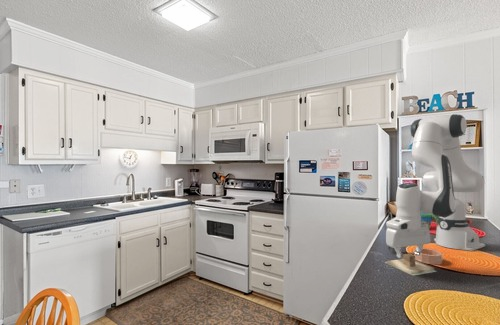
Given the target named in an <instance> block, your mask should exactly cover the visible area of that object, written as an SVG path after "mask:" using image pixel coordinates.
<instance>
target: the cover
mask: <svg viewBox="0 0 500 325" xmlns="http://www.w3.org/2000/svg"><path fill="white" fill-rule="evenodd" d="M385 262H386V263H385V264H387V265H390V266H391V267H393V266H394V268H395V267H396V269H398V270H400V271H402V272H404V273H406V272H407V273H406V274H409V275H411V274H417V273H422V272H428V271H434V270H435V267H432V266H430V265H426V264H425V263H422V262H419V261H417V260H416V259H415V256H414V254H412V253H403V258H398V259H393V260H387V261H385Z"/></svg>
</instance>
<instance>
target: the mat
mask: <svg viewBox="0 0 500 325" xmlns="http://www.w3.org/2000/svg"><path fill="white" fill-rule="evenodd" d="M384 264H387V263H386V261H385V262H384ZM392 267H394V266H392ZM394 268H396V267H394ZM396 269H397V268H396ZM436 272H438V271H437V270H435V269H434V271H428V272H422V273H417V274H410V276H419V275H425V274H430V273H436ZM405 273H406V274H408V273H407V272H405Z"/></svg>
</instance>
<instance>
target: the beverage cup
mask: <svg viewBox="0 0 500 325" xmlns="http://www.w3.org/2000/svg"><path fill="white" fill-rule="evenodd" d="M390 217H391V218H390V220H391V219H393V218H394V217H393V214H392V211H390ZM387 228H388V227H387V226H385V231H386V230H387ZM387 246H388V245H387ZM388 253H389V254H392V255H397V253H396V251H395V249H394V248H392V247H390V246H388Z"/></svg>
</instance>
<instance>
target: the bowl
mask: <svg viewBox="0 0 500 325" xmlns="http://www.w3.org/2000/svg"><path fill="white" fill-rule="evenodd" d="M414 250H416V248H415V249H414ZM414 253H415V252H414V251H413V255H414V256H415V261H417V262H419V263H422V264H425V265H426V264H428V265H435V266H436V265H441V264H443V253H442V252H441V251H439V250H436V249H432V248H426V247H423V248H422V250H421V255H418V256H417V255H415V254H414Z"/></svg>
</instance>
